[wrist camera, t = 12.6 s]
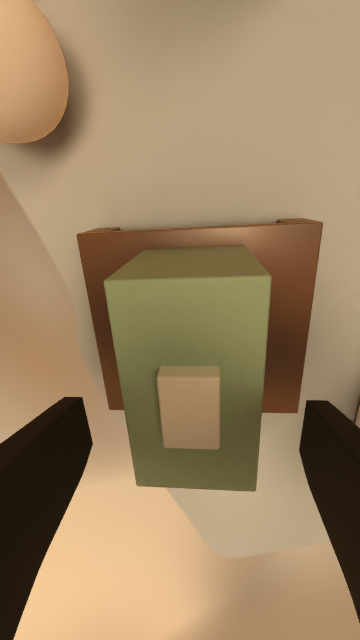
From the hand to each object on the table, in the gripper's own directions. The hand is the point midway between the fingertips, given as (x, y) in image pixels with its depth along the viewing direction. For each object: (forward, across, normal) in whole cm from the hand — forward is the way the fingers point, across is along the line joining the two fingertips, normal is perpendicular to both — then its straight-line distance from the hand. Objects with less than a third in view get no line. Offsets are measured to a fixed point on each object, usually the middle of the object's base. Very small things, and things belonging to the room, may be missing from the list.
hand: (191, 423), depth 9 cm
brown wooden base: (+10, 0, 0) cm, 10 cm away
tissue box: (+7, 0, 0) cm, 7 cm away
